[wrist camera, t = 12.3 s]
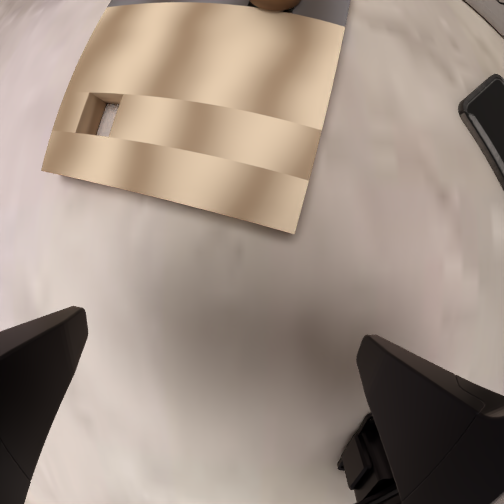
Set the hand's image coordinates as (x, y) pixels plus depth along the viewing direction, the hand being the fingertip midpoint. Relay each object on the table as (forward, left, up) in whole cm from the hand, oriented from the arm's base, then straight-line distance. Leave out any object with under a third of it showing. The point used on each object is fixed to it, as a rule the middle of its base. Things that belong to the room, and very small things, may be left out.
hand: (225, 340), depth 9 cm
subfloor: (+7, -13, -10) cm, 18 cm away
